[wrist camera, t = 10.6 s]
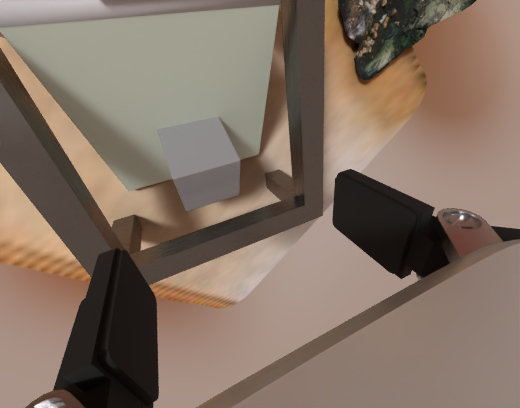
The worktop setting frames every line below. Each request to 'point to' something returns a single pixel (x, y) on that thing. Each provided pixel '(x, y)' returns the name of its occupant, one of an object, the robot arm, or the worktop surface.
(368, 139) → the worktop surface
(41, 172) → the frame
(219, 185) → the grey cube
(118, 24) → the trapdoor
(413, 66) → the worktop surface
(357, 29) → the decorative rock
